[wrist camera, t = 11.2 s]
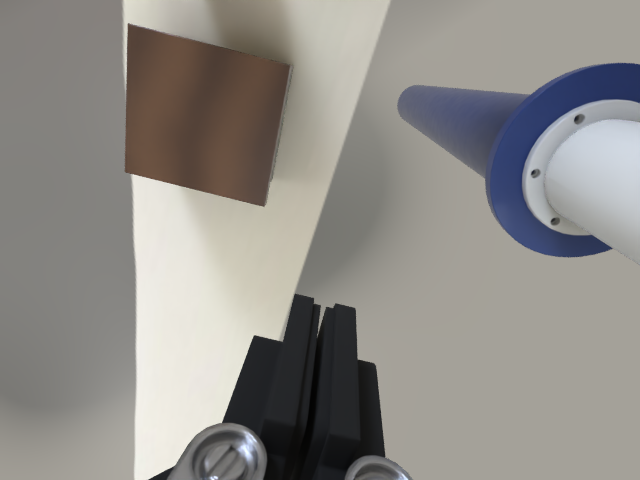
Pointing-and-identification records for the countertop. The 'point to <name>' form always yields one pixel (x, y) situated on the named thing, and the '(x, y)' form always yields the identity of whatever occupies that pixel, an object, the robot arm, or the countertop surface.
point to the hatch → (202, 115)
